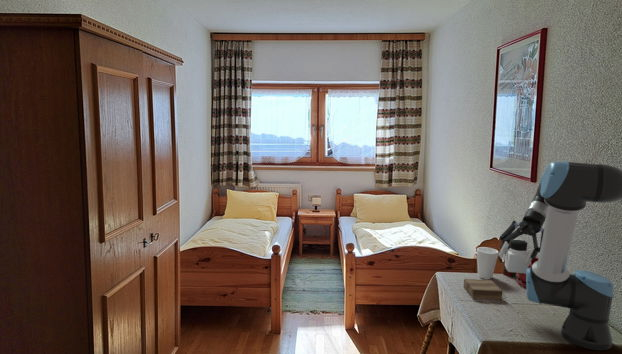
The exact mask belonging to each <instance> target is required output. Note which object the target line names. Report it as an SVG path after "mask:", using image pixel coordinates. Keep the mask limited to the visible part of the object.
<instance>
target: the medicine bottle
mask: <svg viewBox="0 0 622 354" xmlns="http://www.w3.org/2000/svg"><path fill="white" fill-rule="evenodd" d="M527 250H528V242H527V241H525V240H523V239H520V238H519V239H518V238H515V239H513V240H511V241H510V249H506V256H505V255H504V259H505V267H506V269H507V271H508V272H515V273H516V274H518V273H525V274H526V269H527V268H528V266H526V264H525V260H526V258H527V256H528V254H529V253H528V252H527Z"/></svg>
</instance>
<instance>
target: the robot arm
mask: <svg viewBox="0 0 622 354" xmlns="http://www.w3.org/2000/svg"><path fill="white" fill-rule="evenodd" d="M621 200H622V169H620V168H618V167H616V166H613V165H609V164H601V163H600V164H597V163H586V162H585V163H584V162H571V161H567V160H566V161H565V160H564V161H552V162H550V163H549V164H548V165H547V166H546V168H545V170H544V172H543V174H542V175H541V177H540V179H539V183H538V186H537V188H536V192H535V195H534V196H533V199H532V201H531V203H530V204H529V206H528V208H527V209H526V212H525V214H524V215H523V218H522V220H521V221H520V222H517V221H516V220H512V222H511V224H510V225H509V226H508V228H506V229H505V231H504V232H503V233H502V234H501V235H500V236H499V239H500V241H501V244H500V247H499V248H500V251H498V252H499V253H498V257H499V258H500V259H503V257H505V252H506V249H507V248H508V246H509V245H508V243H510V241H511V240H513V239H518V237H520V236H523V235H527V236H530V237H532V244H533V248H531V249H530V251H529V253H527V254H528V256H527V258H526V260H525V264H526V266H529V264H531V260H532V259H535V258H537V255H538V258H539V259H538V261H536V262H535V263H533V265H532V268H527V269H526V287H525V288H526V296H527V297H526V298H527V299H528V301H529V302H533V303H537V304H540V305H542V304H543V305H550V306H555V307H560V308H565V309H566V308H567V309H569V312H568V315H567V317H566V319H565V320H564V322H563V324H562V326H561V328H560V334H561V336H562V337H563V338H564V339H565V340H566V341H567V342H569V343H571V344H573V345H576V346H578V347H581V348H583V349H587V350H593V351H607V350H609V349H611V348H612V346H613V345H612V344H613V338H612V334H611V329H610V324H609V322H610V316H611V308H612V303H613V298H614V283H613V282H612V281H611V280H610V279H608V278H607V277H606V276H603V275H600V274H598V273H596V272H593V271H588V270H585V269H584V270H583V269H581V270H580V269H578V270H575V271H574V273H573V274H572V273H571V274H570V271H569V269H568V268H567V265H568V260H569V255H570V250H571V247H572V242H573V238H574V232H575V228H576V224H577V219H578V215H579V211H582V210H584V209H585V208H586V205H587V203H589V202H592V203H614V202H617V201H621ZM543 225H544V227H543ZM540 232H541V234H540V235H541V236H540V240H539V241H540V243H538V237H537V234H538V233H540ZM538 244H539V245H538Z"/></svg>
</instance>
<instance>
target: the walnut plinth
mask: <svg viewBox="0 0 622 354" xmlns="http://www.w3.org/2000/svg"><path fill="white" fill-rule="evenodd" d="M463 289H464V290H465V291H466V293H467V294H468V295H469V296H470V298H471V299H472V300H488V301H491V300H492V301H502V300H503V290H502V289H501V288H500V287H499V286H498V285H497V284H496V283H495V282H494V281H493V280H492V279H477V278H476V279H475V278H474V279H472V278H464V279H463Z"/></svg>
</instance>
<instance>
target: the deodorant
mask: <svg viewBox="0 0 622 354" xmlns="http://www.w3.org/2000/svg"><path fill="white" fill-rule="evenodd" d="M508 245H509V246H508V248H507V249H510V243H508ZM505 256H506V252H505V254H504V257H505ZM502 269H503V270H502V274H503V275H504V276H506V277H510V278H516V277H517V273H515V272H508V271H507V269H506V267H505V258H504V260H503V268H502Z"/></svg>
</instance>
